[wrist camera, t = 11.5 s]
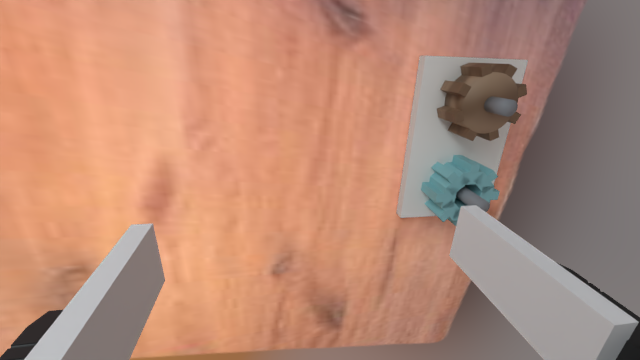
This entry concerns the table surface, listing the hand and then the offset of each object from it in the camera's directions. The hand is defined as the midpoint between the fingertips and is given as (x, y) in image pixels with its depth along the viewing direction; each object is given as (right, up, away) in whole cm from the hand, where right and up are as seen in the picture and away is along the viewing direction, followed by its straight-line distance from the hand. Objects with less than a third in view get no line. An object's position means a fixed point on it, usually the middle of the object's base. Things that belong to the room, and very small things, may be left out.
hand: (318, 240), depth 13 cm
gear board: (+19, +8, +29) cm, 36 cm away
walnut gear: (+19, +13, +25) cm, 35 cm away
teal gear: (+19, +2, +30) cm, 36 cm away
